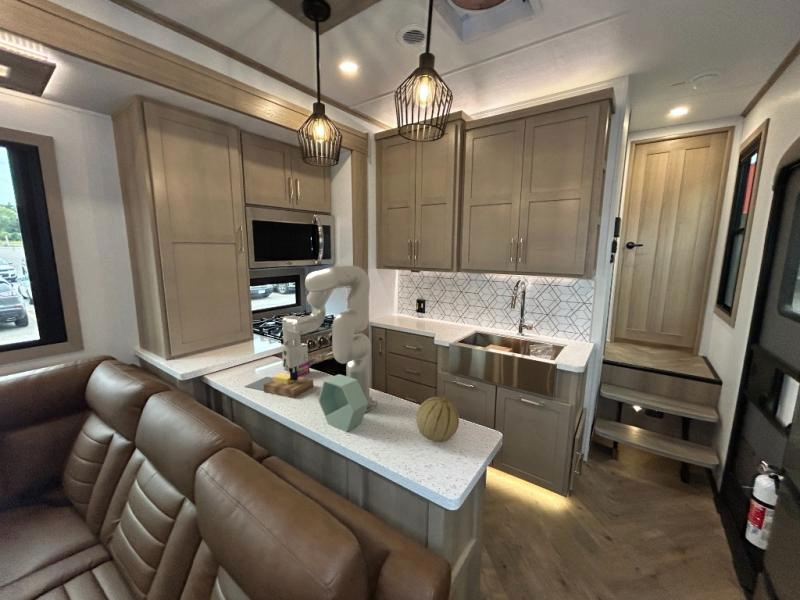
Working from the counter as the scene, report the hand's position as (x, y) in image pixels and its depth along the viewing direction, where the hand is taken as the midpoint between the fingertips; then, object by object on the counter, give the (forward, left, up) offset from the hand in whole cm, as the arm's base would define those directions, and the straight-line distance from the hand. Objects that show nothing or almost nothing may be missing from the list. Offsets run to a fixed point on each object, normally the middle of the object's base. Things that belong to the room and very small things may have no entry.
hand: (294, 379), depth 156 cm
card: (+6, 0, -2) cm, 6 cm away
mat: (+19, -1, -6) cm, 20 cm away
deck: (+3, 0, -6) cm, 7 cm away
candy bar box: (+12, -17, -6) cm, 22 cm away
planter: (-39, +17, -6) cm, 43 cm away
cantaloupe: (-76, +13, -6) cm, 77 cm away
